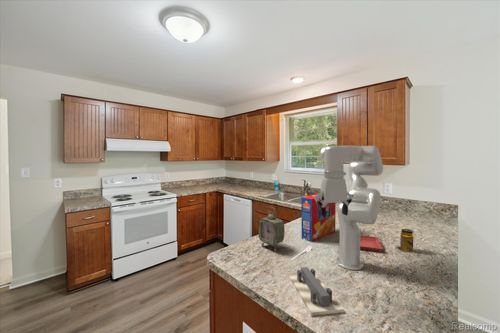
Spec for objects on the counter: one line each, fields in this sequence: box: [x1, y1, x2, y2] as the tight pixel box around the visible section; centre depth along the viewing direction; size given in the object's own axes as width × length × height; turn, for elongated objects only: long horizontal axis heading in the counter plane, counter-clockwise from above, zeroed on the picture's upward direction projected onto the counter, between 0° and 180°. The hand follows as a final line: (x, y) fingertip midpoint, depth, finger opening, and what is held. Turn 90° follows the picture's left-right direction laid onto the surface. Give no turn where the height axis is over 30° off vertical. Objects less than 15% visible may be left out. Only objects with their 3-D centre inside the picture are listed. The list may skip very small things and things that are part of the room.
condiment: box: [395, 228, 416, 255], centre depth 123 cm, size 7×8×12 cm
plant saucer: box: [360, 234, 384, 253], centre depth 131 cm, size 18×18×3 cm
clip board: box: [288, 268, 345, 317], centre depth 85 cm, size 24×12×5 cm, turn 8°
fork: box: [290, 245, 313, 261], centre depth 120 cm, size 3×20×2 cm, turn 135°
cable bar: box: [300, 266, 330, 307], centre depth 85 cm, size 20×3×4 cm, turn 7°
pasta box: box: [300, 193, 337, 243], centre depth 148 cm, size 28×8×28 cm, turn 128°
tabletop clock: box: [257, 206, 285, 252], centre depth 129 cm, size 14×9×25 cm, turn 40°
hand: (334, 215), depth 91 cm, fingers open, 9 cm apart
